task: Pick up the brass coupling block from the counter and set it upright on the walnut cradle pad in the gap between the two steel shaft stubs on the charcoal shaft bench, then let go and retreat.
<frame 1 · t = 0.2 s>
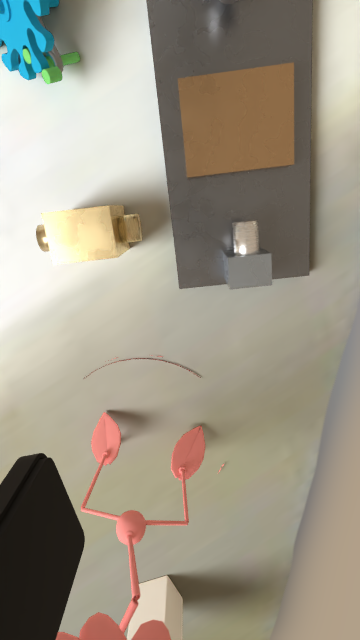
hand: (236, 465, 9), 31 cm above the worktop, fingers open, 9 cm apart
coupler: (99, 230, 37), on the worktop
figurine: (155, 409, 44), on the worktop
milk: (158, 590, 55), on the worktop
gear: (32, 34, 31), on the worktop
shaft bench: (233, 130, 33), on the worktop
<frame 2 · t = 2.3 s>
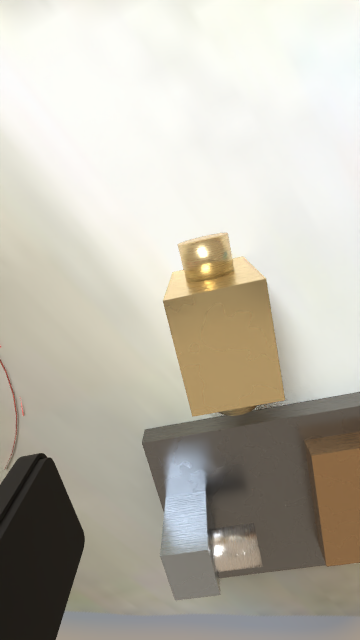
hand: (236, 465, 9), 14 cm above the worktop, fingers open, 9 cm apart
coupler: (216, 309, 22), on the worktop
shaft bench: (359, 473, 25), on the worktop
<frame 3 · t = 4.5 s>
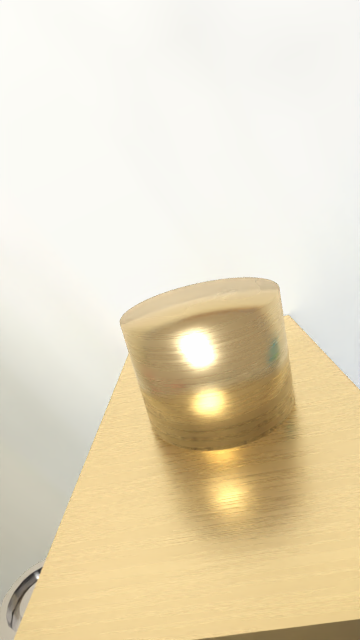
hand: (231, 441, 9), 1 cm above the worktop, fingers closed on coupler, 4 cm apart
coupler: (227, 421, 10), on the worktop, touching gripper
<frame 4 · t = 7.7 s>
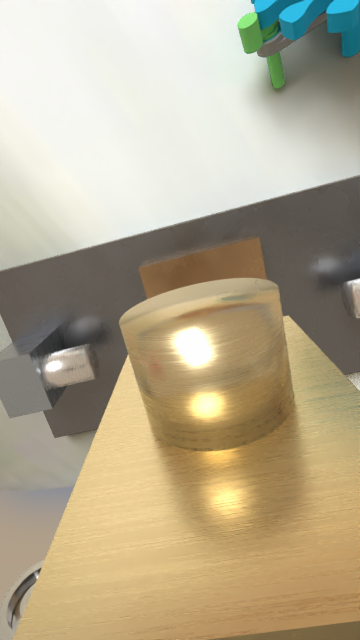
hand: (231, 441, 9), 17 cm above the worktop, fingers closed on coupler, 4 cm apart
coupler: (227, 421, 10), point 16 cm above the worktop, touching gripper
gear: (311, 6, 20), on the worktop
shaft bench: (211, 311, 26), on the worktop
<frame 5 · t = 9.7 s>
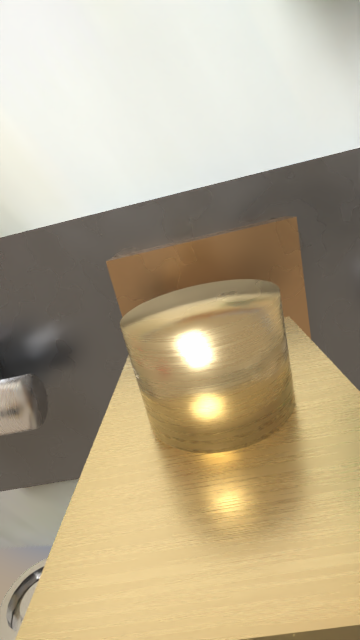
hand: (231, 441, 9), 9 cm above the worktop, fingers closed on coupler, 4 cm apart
coupler: (227, 422, 10), point 8 cm above the worktop, touching gripper
shaft bench: (216, 327, 18), on the worktop
when the fingers open (5 cm above the worktop, at t = 11.2 s): coupler drops 1 cm, resting on shaft bench.
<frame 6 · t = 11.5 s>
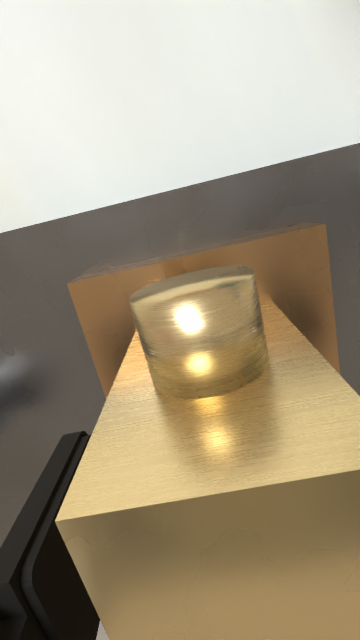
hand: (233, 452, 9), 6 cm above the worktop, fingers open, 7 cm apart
coupler: (221, 397, 12), point 3 cm above the worktop, touching shaft bench
shaft bench: (215, 360, 14), on the worktop
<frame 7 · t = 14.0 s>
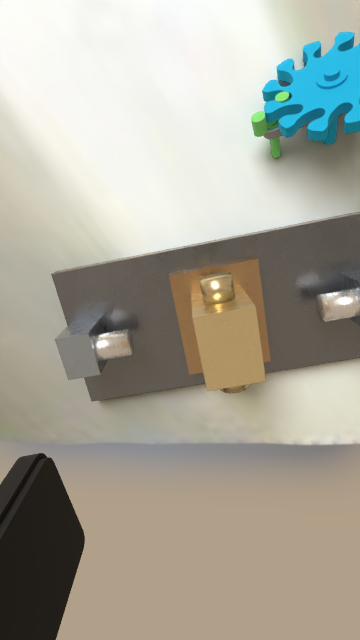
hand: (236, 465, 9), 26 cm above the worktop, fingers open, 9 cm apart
coupler: (221, 320, 31), point 3 cm above the worktop, touching shaft bench
gear: (306, 104, 29), on the worktop
shaft bench: (218, 310, 34), on the worktop
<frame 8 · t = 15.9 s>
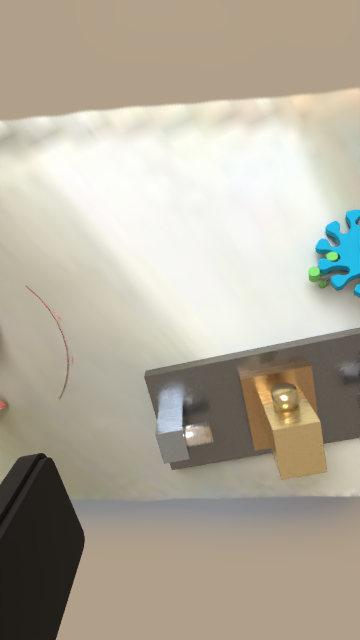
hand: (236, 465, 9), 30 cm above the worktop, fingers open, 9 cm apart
coupler: (281, 410, 39), point 3 cm above the worktop, touching shaft bench
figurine: (10, 359, 42), on the worktop
gear: (346, 248, 37), on the worktop
shaft bench: (275, 396, 42), on the worktop
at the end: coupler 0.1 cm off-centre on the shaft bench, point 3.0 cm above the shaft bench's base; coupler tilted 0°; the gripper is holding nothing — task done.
